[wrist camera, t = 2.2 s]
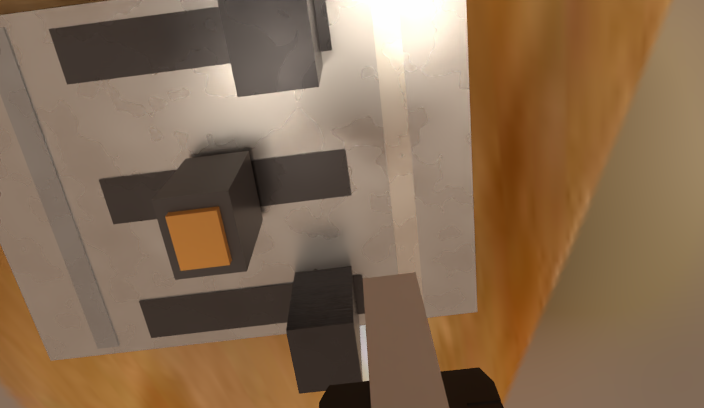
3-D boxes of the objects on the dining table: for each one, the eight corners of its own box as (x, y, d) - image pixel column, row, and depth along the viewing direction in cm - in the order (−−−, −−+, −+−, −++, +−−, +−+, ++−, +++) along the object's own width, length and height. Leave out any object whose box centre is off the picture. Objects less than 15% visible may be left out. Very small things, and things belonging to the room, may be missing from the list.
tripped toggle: (185, 158, 25) (148, 204, 20) (248, 150, 25) (226, 194, 20) (203, 226, 27) (172, 285, 22) (262, 219, 27) (245, 276, 22)
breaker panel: (-61, 23, 25) (-201, 40, 19) (455, -46, 24) (496, -53, 18) (67, 338, 32) (-1, 430, 26) (469, 291, 31) (502, 374, 25)
